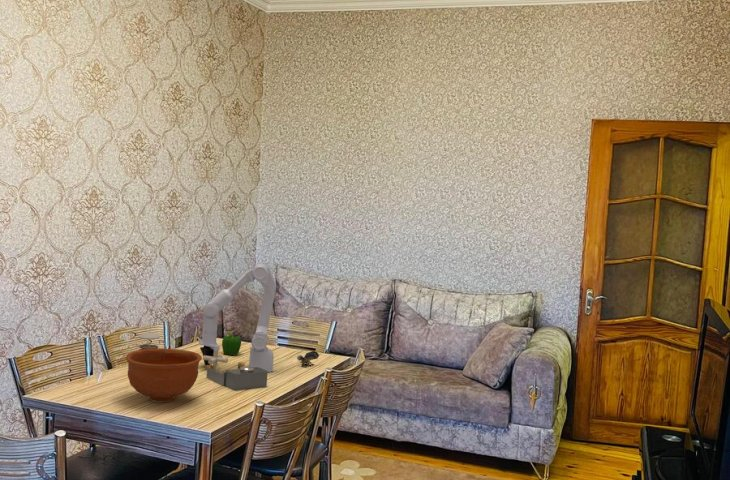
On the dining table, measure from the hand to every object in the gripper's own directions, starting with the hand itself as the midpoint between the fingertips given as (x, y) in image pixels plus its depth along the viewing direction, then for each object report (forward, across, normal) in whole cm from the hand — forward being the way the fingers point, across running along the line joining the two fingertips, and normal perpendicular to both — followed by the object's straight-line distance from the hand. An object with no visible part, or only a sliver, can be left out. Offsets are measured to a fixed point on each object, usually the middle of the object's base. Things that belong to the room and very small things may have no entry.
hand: (207, 364), depth 291 cm
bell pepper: (+2, -20, +22) cm, 30 cm away
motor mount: (+1, +24, 0) cm, 24 cm away
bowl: (+2, +34, -35) cm, 49 cm away
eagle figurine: (+2, +11, +42) cm, 44 cm away
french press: (+2, -4, -23) cm, 23 cm away
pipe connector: (+2, +6, 0) cm, 6 cm away
